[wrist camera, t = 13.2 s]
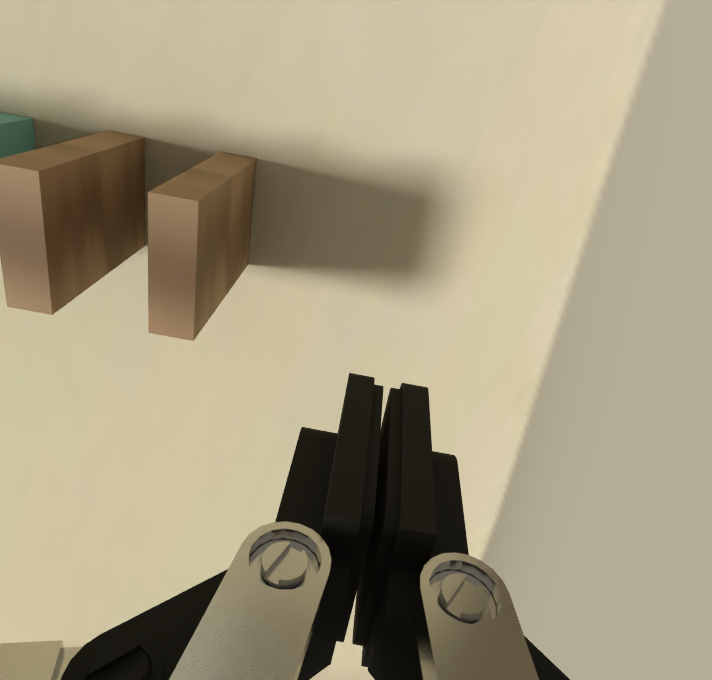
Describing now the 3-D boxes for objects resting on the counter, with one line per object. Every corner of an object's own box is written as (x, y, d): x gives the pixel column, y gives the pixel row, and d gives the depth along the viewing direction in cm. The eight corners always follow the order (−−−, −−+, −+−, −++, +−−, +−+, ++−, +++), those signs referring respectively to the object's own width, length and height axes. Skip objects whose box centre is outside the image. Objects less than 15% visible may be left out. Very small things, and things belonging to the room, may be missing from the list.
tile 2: (145, 245, 27) (52, 314, 20) (112, 239, 27) (7, 306, 20) (144, 137, 24) (38, 171, 17) (107, 130, 24) (-13, 161, 17)
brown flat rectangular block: (247, 264, 27) (193, 340, 20) (215, 258, 27) (148, 332, 20) (256, 158, 24) (198, 201, 17) (220, 151, 24) (147, 192, 17)
